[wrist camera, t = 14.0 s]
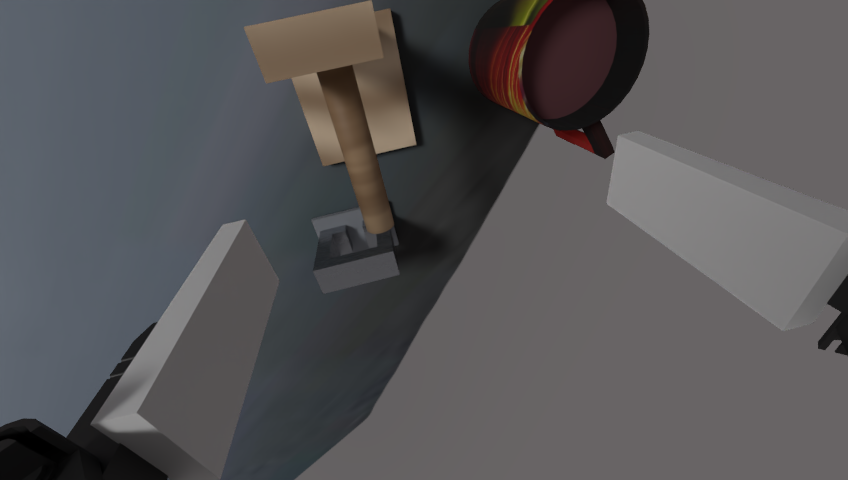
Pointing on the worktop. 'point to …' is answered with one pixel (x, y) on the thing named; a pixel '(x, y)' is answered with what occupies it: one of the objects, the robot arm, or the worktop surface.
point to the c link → (353, 259)
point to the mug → (561, 62)
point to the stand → (344, 91)
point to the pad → (348, 227)
